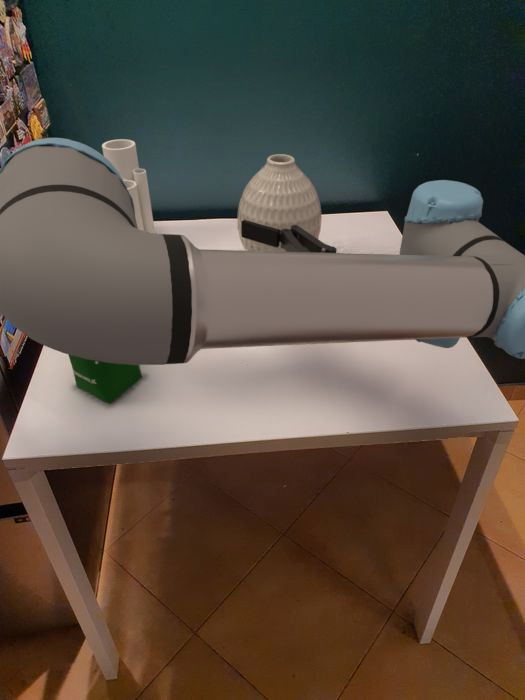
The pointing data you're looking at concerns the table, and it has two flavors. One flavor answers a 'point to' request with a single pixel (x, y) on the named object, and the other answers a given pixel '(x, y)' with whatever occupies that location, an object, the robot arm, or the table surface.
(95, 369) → the soya milk
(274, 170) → the vase
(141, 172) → the vase
